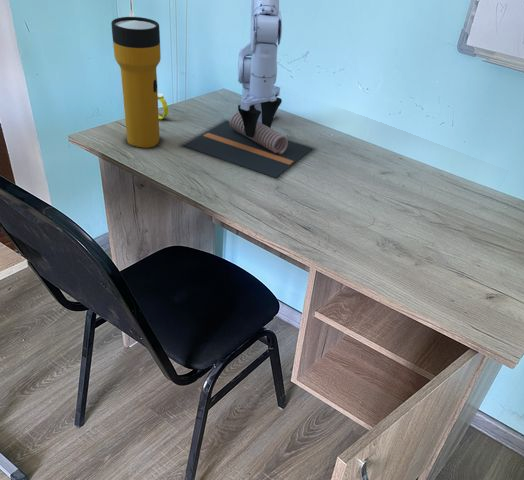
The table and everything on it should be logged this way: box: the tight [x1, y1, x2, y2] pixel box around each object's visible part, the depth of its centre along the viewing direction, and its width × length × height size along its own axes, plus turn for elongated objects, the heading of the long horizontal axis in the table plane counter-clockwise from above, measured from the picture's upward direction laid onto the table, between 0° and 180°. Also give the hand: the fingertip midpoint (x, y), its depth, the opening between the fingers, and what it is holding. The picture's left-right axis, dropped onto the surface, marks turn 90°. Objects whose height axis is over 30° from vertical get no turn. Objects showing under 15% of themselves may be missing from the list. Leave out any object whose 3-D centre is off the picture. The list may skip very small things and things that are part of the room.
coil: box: [229, 111, 289, 155], centre depth 135 cm, size 5×5×18 cm
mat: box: [182, 120, 314, 179], centre depth 134 cm, size 20×26×1 cm
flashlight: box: [111, 16, 162, 149], centre depth 122 cm, size 10×26×10 cm
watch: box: [158, 92, 169, 121], centre depth 140 cm, size 6×3×6 cm, turn 52°
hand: (258, 131), depth 134 cm, fingers open, 7 cm apart
